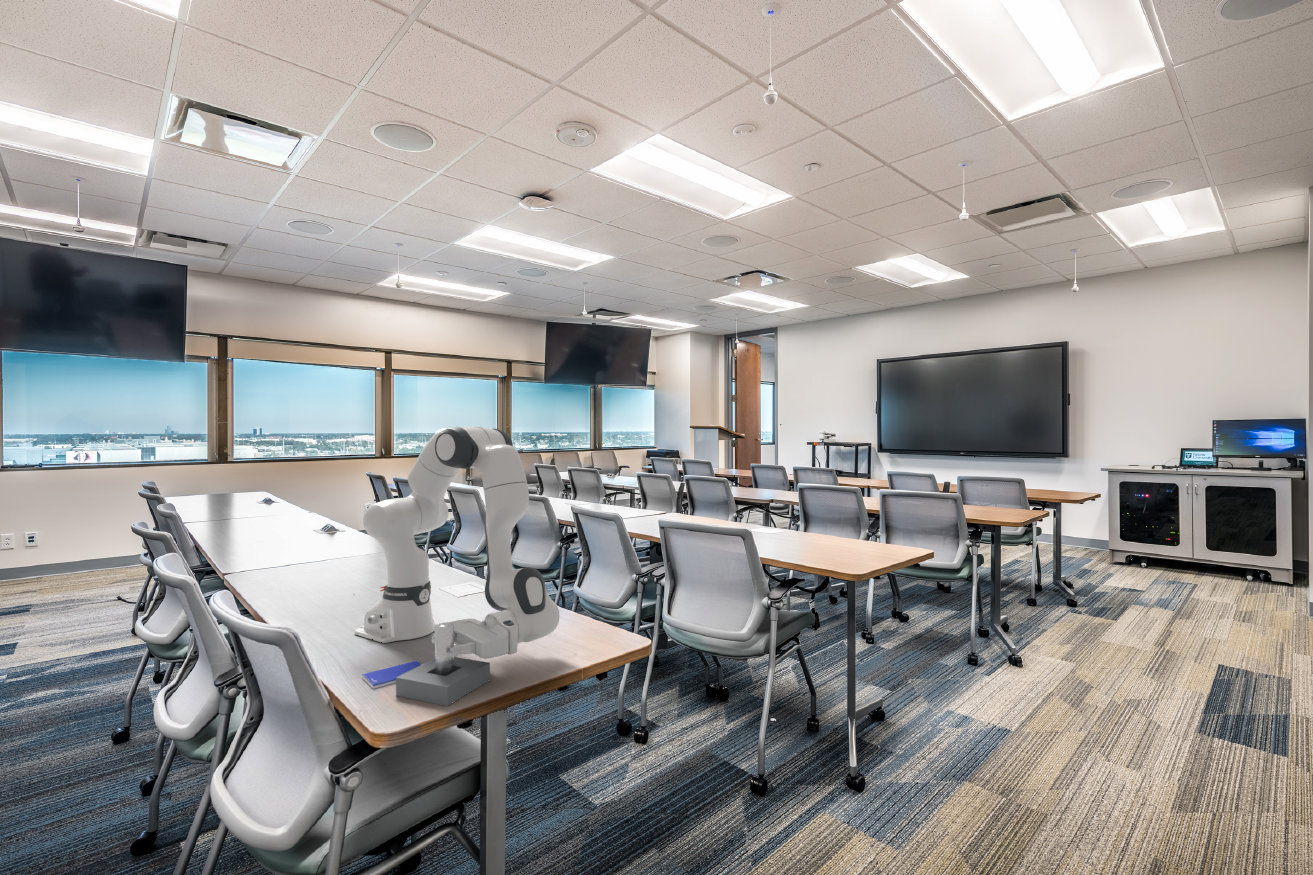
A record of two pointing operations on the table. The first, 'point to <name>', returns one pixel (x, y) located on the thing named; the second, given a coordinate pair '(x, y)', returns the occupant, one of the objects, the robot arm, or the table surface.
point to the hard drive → (388, 674)
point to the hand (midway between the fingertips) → (442, 645)
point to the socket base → (442, 681)
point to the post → (444, 648)
